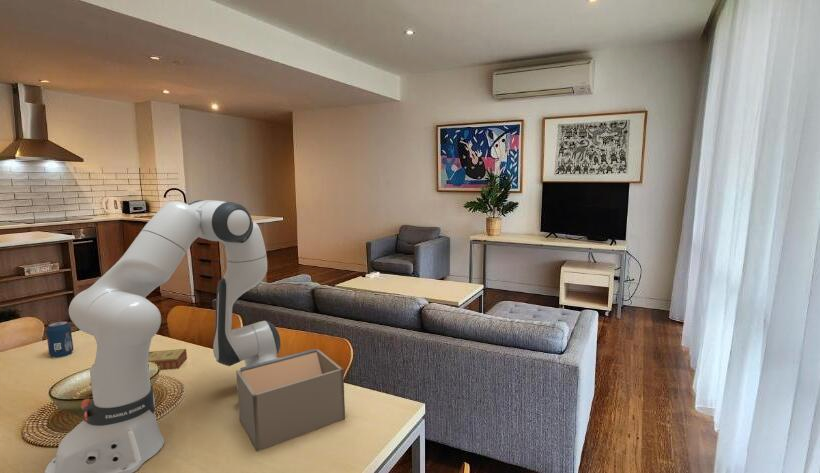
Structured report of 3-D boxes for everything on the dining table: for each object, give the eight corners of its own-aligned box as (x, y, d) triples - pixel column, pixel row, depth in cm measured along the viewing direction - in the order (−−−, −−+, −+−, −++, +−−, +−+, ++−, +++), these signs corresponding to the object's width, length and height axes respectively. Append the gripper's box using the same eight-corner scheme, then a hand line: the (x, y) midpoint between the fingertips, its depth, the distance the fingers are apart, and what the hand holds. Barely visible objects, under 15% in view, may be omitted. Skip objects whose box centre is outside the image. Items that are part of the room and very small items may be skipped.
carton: (178, 369, 144) (177, 357, 143) (127, 373, 141) (125, 361, 141) (187, 359, 152) (186, 348, 151) (138, 363, 149) (137, 351, 149)
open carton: (256, 451, 100) (253, 396, 98) (239, 420, 113) (236, 370, 111) (345, 418, 113) (343, 369, 111) (320, 394, 126) (318, 349, 124)
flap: (251, 420, 106) (240, 367, 111) (250, 421, 107) (240, 368, 112) (328, 395, 118) (315, 348, 123) (326, 396, 119) (314, 349, 123)
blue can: (53, 352, 158) (49, 322, 156) (76, 349, 161) (72, 319, 159) (46, 360, 152) (42, 327, 150) (70, 356, 155) (66, 324, 153)
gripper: (233, 374, 119) (247, 394, 108) (303, 355, 131) (321, 372, 120) (235, 394, 120) (248, 417, 109) (303, 374, 132) (322, 392, 121)
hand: (287, 393), depth 115 cm, fingers closed, pressing on flap
